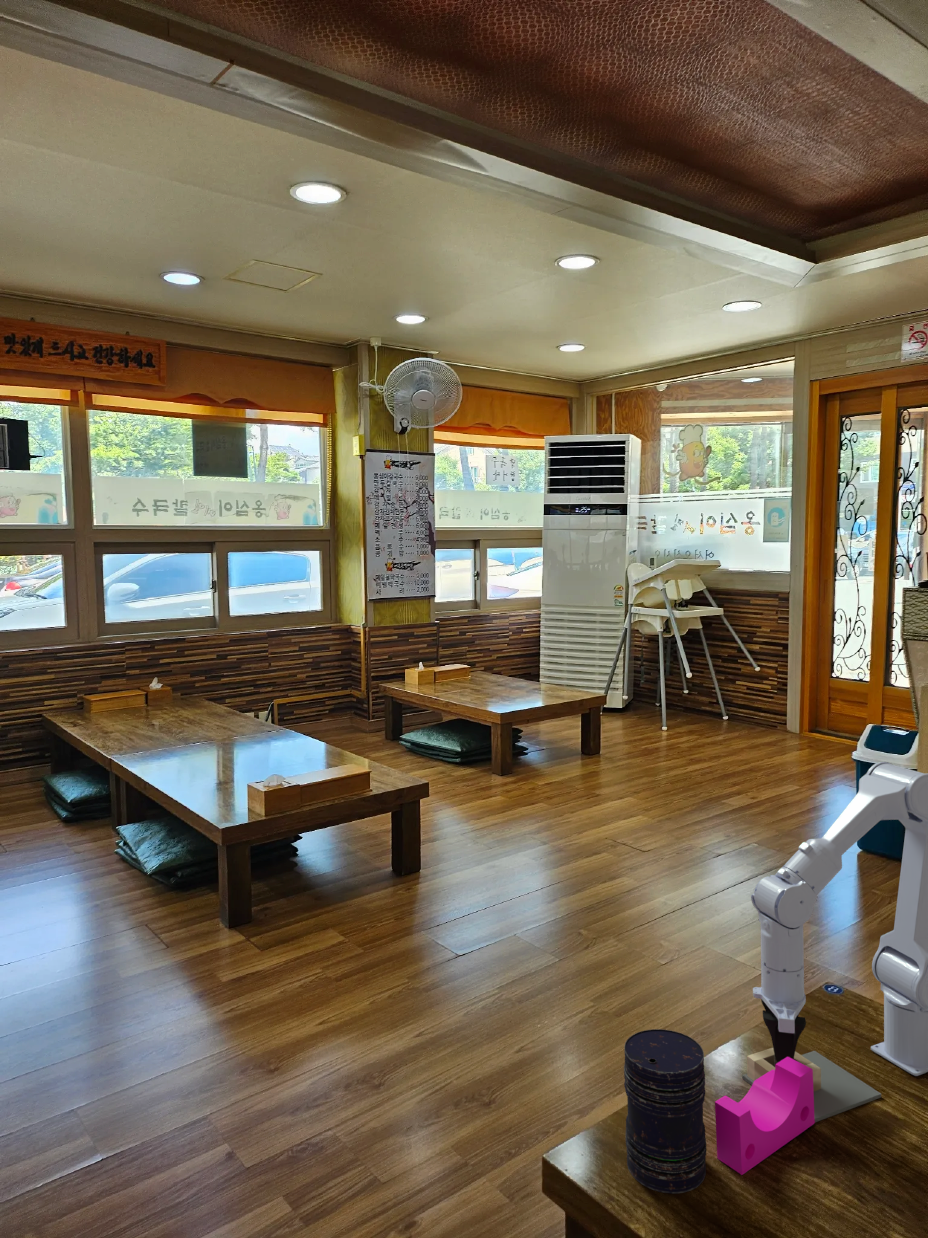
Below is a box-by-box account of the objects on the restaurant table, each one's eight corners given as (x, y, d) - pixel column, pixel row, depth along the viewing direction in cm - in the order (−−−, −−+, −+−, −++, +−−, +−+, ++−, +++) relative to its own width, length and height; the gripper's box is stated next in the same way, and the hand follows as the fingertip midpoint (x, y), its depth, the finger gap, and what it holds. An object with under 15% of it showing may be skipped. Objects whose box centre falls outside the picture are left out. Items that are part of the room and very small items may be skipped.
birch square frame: (784, 1063, 127) (784, 1044, 127) (821, 1089, 121) (820, 1068, 121) (747, 1076, 125) (747, 1056, 124) (783, 1102, 118) (782, 1081, 118)
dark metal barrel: (650, 1129, 114) (647, 1020, 113) (720, 1161, 108) (718, 1045, 107) (611, 1170, 107) (608, 1054, 106) (684, 1207, 100) (681, 1083, 99)
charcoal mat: (814, 1054, 130) (814, 1050, 130) (881, 1097, 119) (881, 1094, 119) (742, 1078, 125) (742, 1075, 125) (805, 1126, 114) (805, 1122, 114)
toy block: (773, 1100, 119) (771, 1048, 118) (814, 1123, 114) (812, 1069, 113) (701, 1148, 110) (699, 1092, 110) (741, 1175, 105) (739, 1117, 105)
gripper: (750, 939, 130) (751, 1026, 131) (754, 984, 116) (756, 1081, 117) (800, 943, 128) (801, 1031, 129) (810, 989, 114) (811, 1088, 115)
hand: (783, 1055), depth 122 cm, fingers closed on metal pin, 3 cm apart
